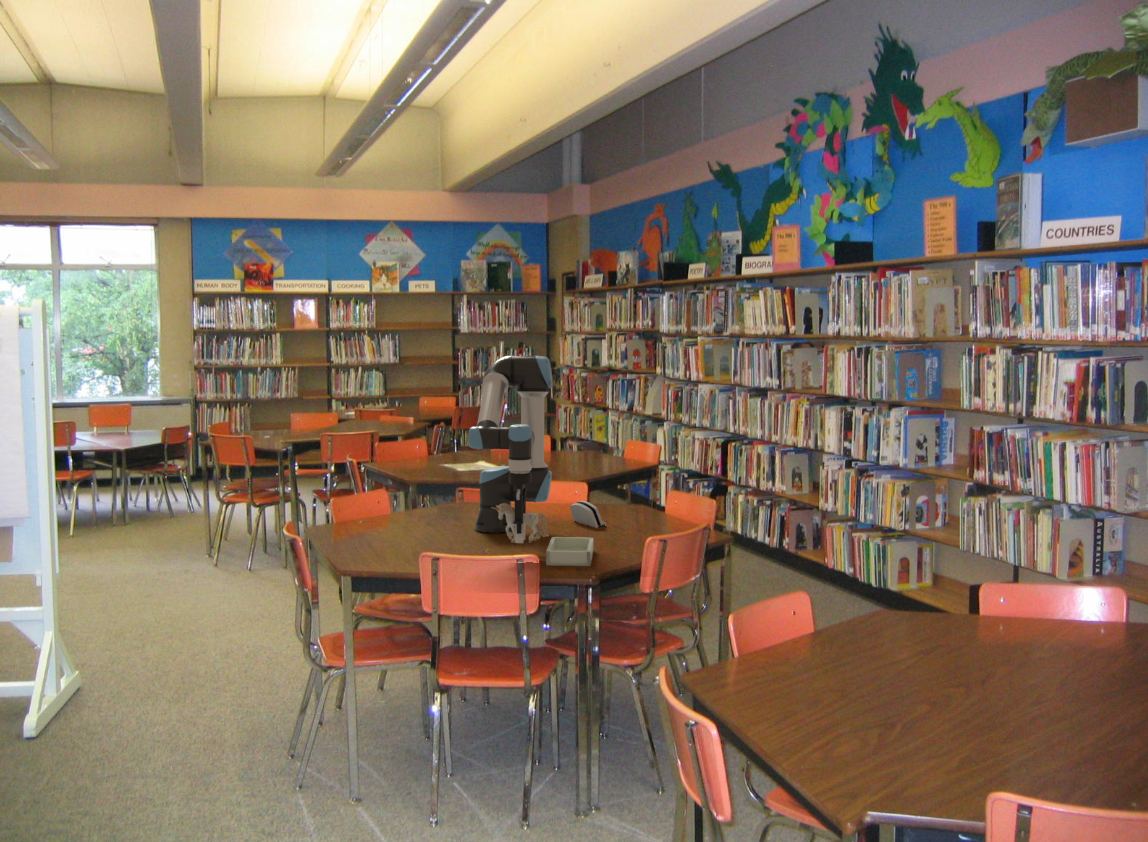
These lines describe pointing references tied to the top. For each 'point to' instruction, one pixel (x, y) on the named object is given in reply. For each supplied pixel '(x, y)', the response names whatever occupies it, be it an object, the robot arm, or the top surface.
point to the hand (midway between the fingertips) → (520, 540)
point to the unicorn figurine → (528, 519)
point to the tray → (569, 551)
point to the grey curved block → (586, 514)
